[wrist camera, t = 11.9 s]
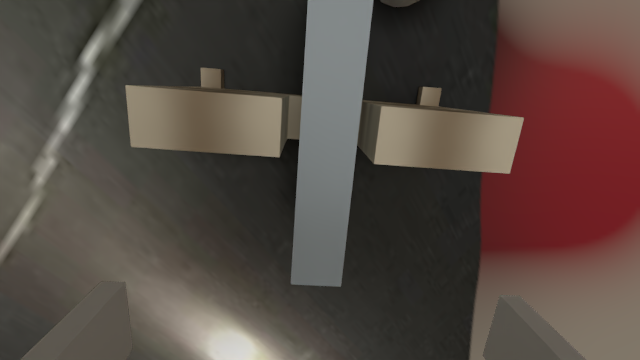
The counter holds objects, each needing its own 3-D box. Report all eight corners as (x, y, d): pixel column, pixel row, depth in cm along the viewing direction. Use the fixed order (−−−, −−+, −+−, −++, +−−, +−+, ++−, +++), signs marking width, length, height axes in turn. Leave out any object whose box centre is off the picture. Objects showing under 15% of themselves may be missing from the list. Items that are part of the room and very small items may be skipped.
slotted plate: (328, 210, 30) (340, 286, 18) (297, 209, 30) (290, 284, 18) (347, 3, 25) (381, -69, 13) (310, 0, 25) (312, -77, 13)
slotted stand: (206, 139, 28) (133, 175, 16) (204, 68, 26) (122, 51, 14) (424, 155, 29) (502, 199, 17) (436, 88, 27) (531, 87, 16)
